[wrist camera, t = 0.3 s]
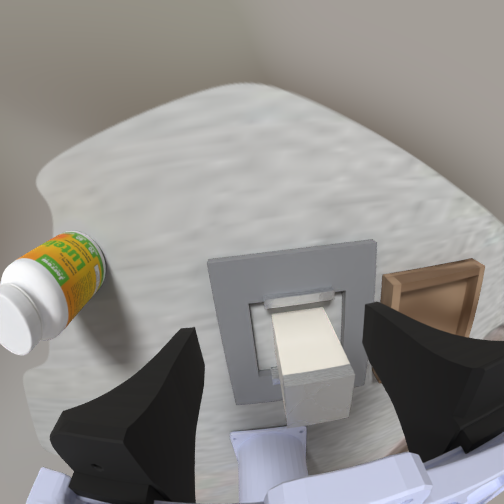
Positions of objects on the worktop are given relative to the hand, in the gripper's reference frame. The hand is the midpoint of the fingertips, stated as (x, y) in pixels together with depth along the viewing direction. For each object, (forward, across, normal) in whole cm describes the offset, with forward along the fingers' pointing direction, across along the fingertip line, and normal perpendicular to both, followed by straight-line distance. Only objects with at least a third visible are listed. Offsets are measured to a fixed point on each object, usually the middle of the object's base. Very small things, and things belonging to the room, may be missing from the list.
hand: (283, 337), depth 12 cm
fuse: (+10, -2, +6) cm, 12 cm away
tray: (+10, -14, +8) cm, 19 cm away
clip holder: (+10, -2, +6) cm, 12 cm away
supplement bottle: (+10, +14, -2) cm, 18 cm away
